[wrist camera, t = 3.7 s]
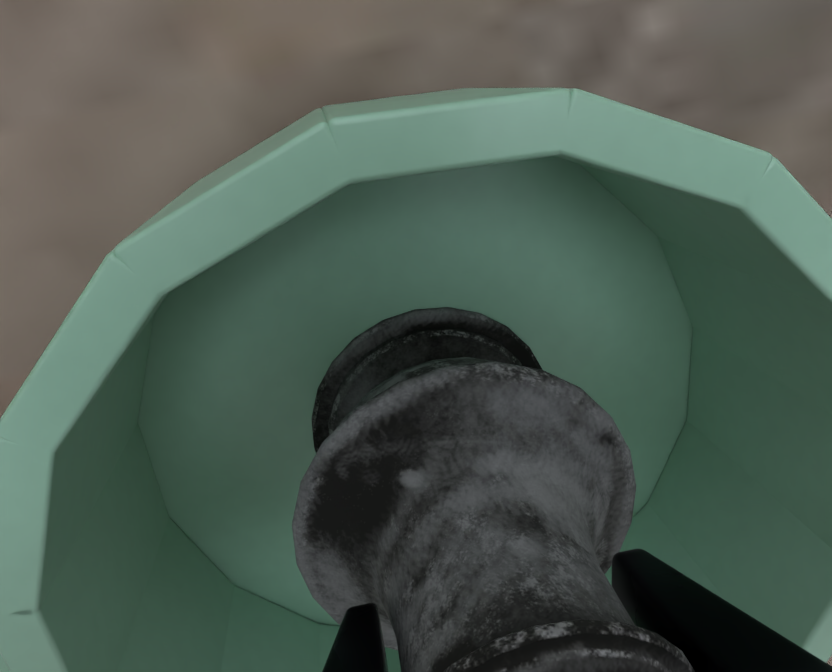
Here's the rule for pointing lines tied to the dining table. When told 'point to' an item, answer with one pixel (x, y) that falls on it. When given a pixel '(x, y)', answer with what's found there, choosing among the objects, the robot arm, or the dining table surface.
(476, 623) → the dark grey tall piece
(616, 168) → the pot
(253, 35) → the dining table surface
